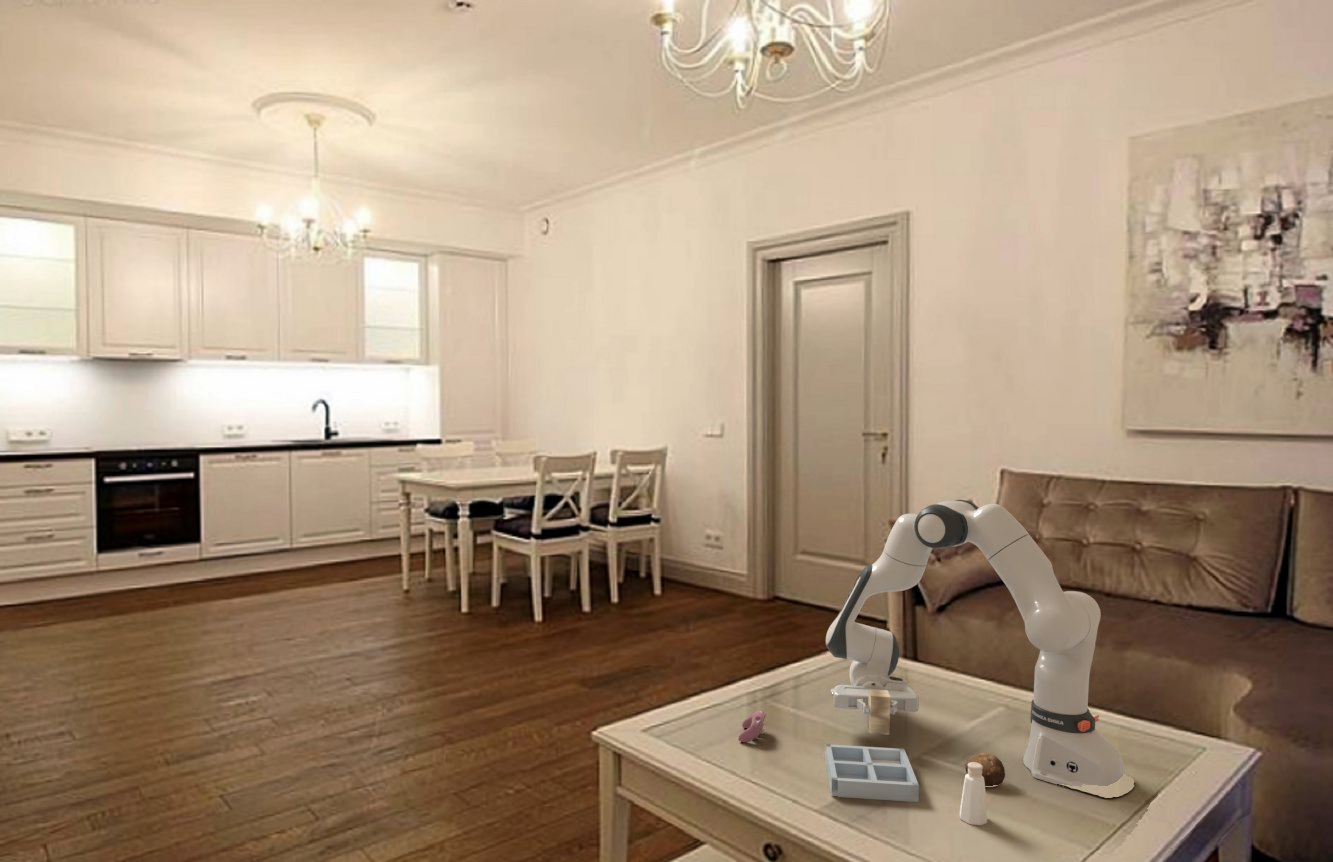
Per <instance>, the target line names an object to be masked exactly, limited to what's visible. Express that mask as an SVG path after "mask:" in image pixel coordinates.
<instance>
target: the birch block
mask: <svg viewBox="0 0 1333 862" xmlns="http://www.w3.org/2000/svg"><path fill="white" fill-rule="evenodd" d="M868 704H869V706H870V713H867V729H868V731H869V734H871V735H886V736H888V735H890V729H891V728H890V727H891V726H890V724H891V715H890V695H889V693H888V690H871V689H869V694H868Z"/></svg>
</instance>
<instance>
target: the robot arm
mask: <svg viewBox="0 0 1333 862" xmlns="http://www.w3.org/2000/svg"><path fill="white" fill-rule="evenodd" d="M966 543H971V544H973V545H974V546H976V547H977V549H979V551H981V553H982V554H983V556H984V557H985V558H986V560H987V561H988V562H989V564H990V566H991V567H992V568H993V569H994V571H995V572H996V574H997V575H998V576H999V578H1000V579H1001V581H1002V582H1003V583H1004V584H1005V586H1006V588H1007V590H1008V591H1009V593H1010V594H1011V596H1012V599H1013V600H1014V602H1015V604H1016V606H1017V609H1018V611H1019V613H1020V616H1021V617H1022V620H1023V622H1024V629H1025V634H1026V636H1027V638H1028V640H1029V642H1030V643H1031V644H1032V645H1033V646H1034V647H1035V648H1037V649H1039V654H1038V658H1037V661H1036V663H1035V666H1034V678H1033V679H1034V684H1033V699H1032V700H1031V703H1030V723H1031V726H1030V731H1029V732H1030V734H1029V739H1028V742H1027V743H1028V744H1027V747H1026V751H1025V753H1024V756H1023V759H1022V762H1023V764H1024V765H1025V767H1026V768H1027V769H1029V770H1030V772H1031V776H1032V777H1033V778H1034V779H1036V780H1037V779H1038V780H1041V781H1045V782H1048V783H1051V784H1054V785H1057V784H1064V785H1070V786H1079V787H1082V786H1081V785H1083V784H1085V785H1098V786H1108V785H1110V784H1113V783H1115V782H1117V781H1118V780H1119V779H1120V778H1121V777H1122V776H1123V774H1124V773H1125V770H1124V769H1125V767H1124V762H1123V757H1122V754H1121V752H1119V751H1118V749H1117V748H1116V747H1115V746H1114V745H1112V744H1111V743H1110V742H1109V741H1108V739H1106V738H1105V736H1104V735H1102V734H1101V733H1100V732H1099V731H1098V729H1096V723H1097V722H1098V721H1099V720H1100V719H1099V717H1100V715H1095V716H1093V714H1092V713H1091V711H1090V710H1089V707H1088V703H1089V687H1090V685H1089V684H1090V673H1091V667H1092V664H1093V658H1094V653H1095V649H1096V642H1097V637H1098V636H1097V635H1098V628H1099V625H1100V621H1101V615H1102V614H1101V609H1100V608H1101V607H1099V604H1098V602H1097V601H1096V600H1095V599H1094V598H1093V597H1092V596H1091V595H1088V594H1087V593H1085V592H1082V591H1075V590H1067V591H1063V589H1062V587H1061V585H1060V583H1059V580H1058V579H1057V577H1056V575H1055V572H1054V569H1053V563H1052V562H1051V560H1050V559H1049V557H1047V556H1046V554H1045V553H1044V551H1043V549H1041V548H1040V546H1039V545H1038V544H1037V542H1036V541H1035V540H1034V539H1033V537H1032V536H1031V535H1030V534H1029V532H1028V531H1027V529H1025V527H1024V526H1023V525H1022V524H1021V523H1020V521H1018V520H1017V519H1016V518H1015V517H1014V516H1013V514H1012V513H1010V512H1009V511H1008V510H1007V509H1006V508H1005V507H1003V506H1002V505H1001V504H998V503H989V504H988V503H987V504H985V505H982V506H980V507H979V506H978V505H976V504H975V503H974V502H972V501H969V500H966V499H955V500H943V501H939V502H937V503H935V504H930V505H927V506H926V507H924V508H923V509H922V510H920V511H919V513H918V514H917V513H905V514H902V515H900V516H899V517H898V518H897V519H896V521H895V523H894V524H893V526H892V528H891V530H890V533H889V534H888V536H887V539H886V542H885V545H884V548H883V550H882V553H881V555H880V557H878V558H877V560H876V561H875V562H873V564H869V565H866V566H865V567H864V568H863V569H862V570H861V571H860V573H859V575H858V576H857V578H856V580H854V581H855V582H854V583H853V585H852V586H851V589H850V591H849V593H848V595H847V596H846V598H845V600H844V602H843V603H842V606H841V608H840V610H839V612H838V613H837V614H836V617H834V619H833V621H832V622H831V623H830V625H829V627H828V629H827V632H826V634H825V635H826V636H825V646H826V648H827V650H828V651H829V653H830V654H831V655H832V656H833V657H834V658H838V659H842V660H843V659H844V660H850V661H852V662H851V663H850V667H849V675H848V676H849V681H850V684H838V685H836V686H834V688H831V689H830V691H829V692H830V695H831V696H833V706H834V707H835V708H837V709H839V710H840V709H842V710H845V709H848V710H859V711H861V712H862V713H863V714H868V713H870V706H869V704H868V694H869V689H871V690H888V693H889V695H890V716H891V715H892V716H894V715H896V712H903V713H904V712H905V713H906V712H907V713H916V712H918V711H919V708H920V700H919V699H920V698H919V695H918V694H917V691H916V690H915V689H914V688H913V687H912V686H911V685H909V684H908V680H907V679H905V678H902V677H895V676H891V675H892V674H893V673H894V672H895V670H896V668H897V665H898V662H899V658H900V644H899V641H898V639H897V637H896V635H895V634H894V632H893V631H889V630H886V629H883V628H880V627H879V628H878V627H877V626H876V627H875V626H870V625H866V624H863V623H859V622H856V620H857V617H858V615H859V613H860V611H861V609H862V608H863V606H864V604H865V602H866V601H867V599H869V598H870V597H871V596H874V595H878V594H880V593H889V592H890V593H891V592H892V593H893V592H901V591H906V590H909V589H912V588H913V587H915V586H917V585H918V584H919V583H920V581H921V580H922V578H923V576H924V573H925V570H926V568H927V565H928V561H929V559H930V555H931V553H932V551H933V549H935V550H936V549H937V550H945V549H948V548H949V549H950V548H954V547H958V546H962V545H964V544H966Z"/></svg>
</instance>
